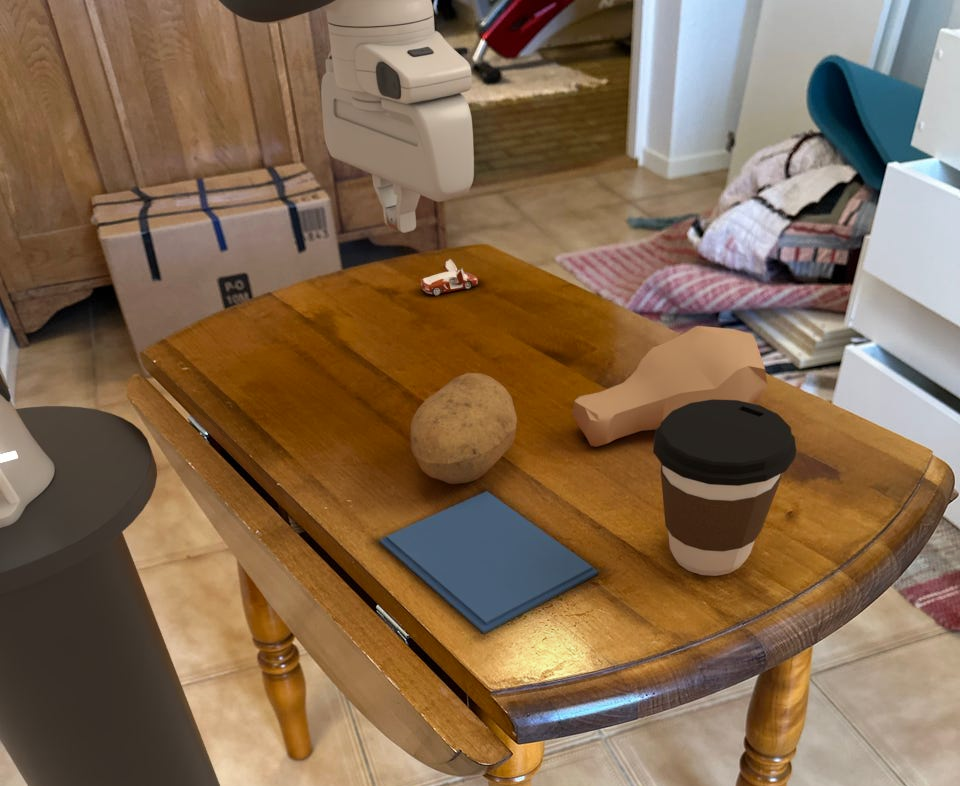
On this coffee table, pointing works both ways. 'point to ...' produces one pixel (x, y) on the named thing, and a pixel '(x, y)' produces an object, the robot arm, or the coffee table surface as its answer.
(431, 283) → the toy car
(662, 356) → the squash
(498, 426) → the potato
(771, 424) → the coffee cup
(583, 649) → the coffee table surface
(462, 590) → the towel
